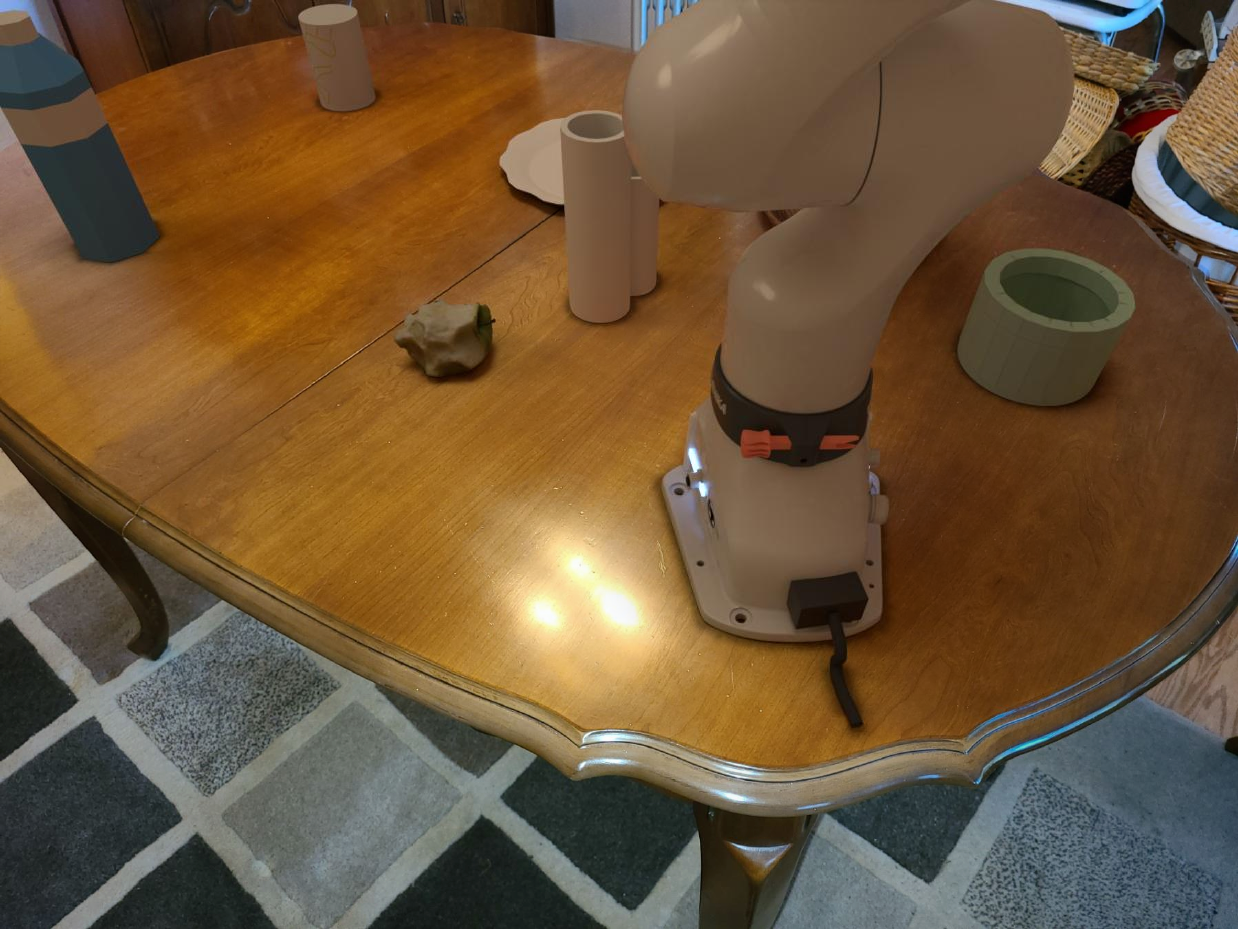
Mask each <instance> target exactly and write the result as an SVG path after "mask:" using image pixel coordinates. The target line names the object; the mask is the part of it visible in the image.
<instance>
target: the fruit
mask: <svg viewBox="0 0 1238 929" xmlns="http://www.w3.org/2000/svg"><path fill="white" fill-rule="evenodd" d="M494 323H497V320H496V318H495V317H494V318H493V319H492V314H491V309H490V307H489V306H488V305H487V303H484V304H481V303H480V302H479V301H476V302H474V303H473V304H471V303H470V304H467V303H465V304H464V303H463V304H455V305H454V304H449V303H448V302H446V300H443V299H433V301H432V303H426V304H424V305H423V304H421V305H419V306H418V309H417V313H416V314H407V315H406V316H405V318H404V321H403V328H400V329H398V330H396V332H395V333H394V335H393V341H394V343H395V344H396V345H397V346H398V347H399V349H404V350H406V351H407V352H406V353H407V355H408V356H409V357H410V358H412V360H414V362H416V363H417V364H418V365H419V366H420V367H421V369H423V370H424V372H425V375H426V376H428V377H429V376H430V377H434V378H441V377H447V376H454V375H455V376H456V375H460V374H462V373H466V372H470V371H471V370H472V369H474V368H476V367H477V366H479V365H480V364H481V363H483V362H484V361H485V360H486V358H487V357H488V353H489V351H490V349H491V346H492V341H493V336H494V335H493V333H494V331H493V330H494V329H493V324H494Z"/></svg>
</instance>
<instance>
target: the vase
mask: <svg viewBox="0 0 1238 929" xmlns="http://www.w3.org/2000/svg"><path fill="white" fill-rule="evenodd" d="M564 118H565V119H564V120H563V121H562V122H561V125H560V134H561V153H562V171H563V189H564V206H563V207H564V208H563V209H564V224H565V242H566V243H565V244H566V260H567V262H566V263H567V277H568V278H567V279H568V298H569V299H568V300H569V307H570V310H571V313H573V314H574V315H575V317H577V318H579V319H580V320H583V321H585V322H589V323H595V324H605V323H606V324H607V323H613V322H616V321H618V320H620V319H622V318H623V317H625V316H626V315H627V314H628V312H630V308H631V297H639V296H643V295H646V294H649V293H650V292H652V291H653V290H654V288H655V287H656V285H657V276H658V275H657V274H658V273H657V271H658V247H659V246H658V245H659V221H660V220H659V218H660V214H659V213H660V198H659V197H658V196H656V195H655V194H654V193H653V192H652V191H651V189H650V188H649V187H648V186H647V185H646V184H645V182H644V181H643V179H642V178H641V177H640V175H639V173H638V172H637V170H636V168H635V166H634V164H633V162H632V160H631V157H630V155H629V152H628V149H627V146H626V142H625V138H624V132H623V124H622V114H620V113H617V112H614V111H607V110H597V109H593V110H583V111H578V112H574V113H572V114H570V115H568V116H566V117H564Z"/></svg>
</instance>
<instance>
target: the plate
mask: <svg viewBox="0 0 1238 929" xmlns="http://www.w3.org/2000/svg"><path fill="white" fill-rule="evenodd" d="M565 118H566V117H562V118H553V119H549V120H546V121H542V122H540V123H538V124H537V125H535V126H534V127H532V128H530V129H528V130H526V131H523V132H521V133H518V134H516V135H515V136H514V137H513V138H511V139H510V140H509V141H508V143H507V147H506V150H505V151H504V152H503V153H502V154H501V155H500V157H499V167H500V168H501V170H503V172H504V173H505V174H506V178H507V180H508V184H509V185H511V186H512V187H513V188H514V189H515V190H517V191H520V192H522V193H524V194H529V195H531V196H532V197H533V196H534V198H536V199H538V200H539V201H541V202H543V203H546V204H550V205H555V206H559V207H564V189H563V171H562V153H561V134H560V125H561V122H562V121H563V120H564V119H565Z"/></svg>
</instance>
